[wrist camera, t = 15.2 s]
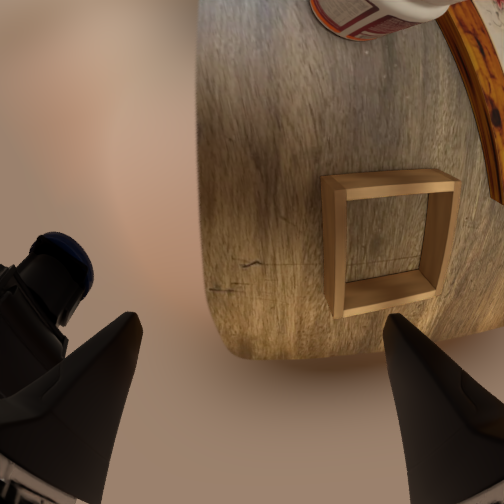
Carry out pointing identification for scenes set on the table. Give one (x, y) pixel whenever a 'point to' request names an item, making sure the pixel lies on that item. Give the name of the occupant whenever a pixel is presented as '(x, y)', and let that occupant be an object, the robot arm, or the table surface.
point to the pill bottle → (376, 15)
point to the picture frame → (481, 74)
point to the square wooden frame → (434, 245)
